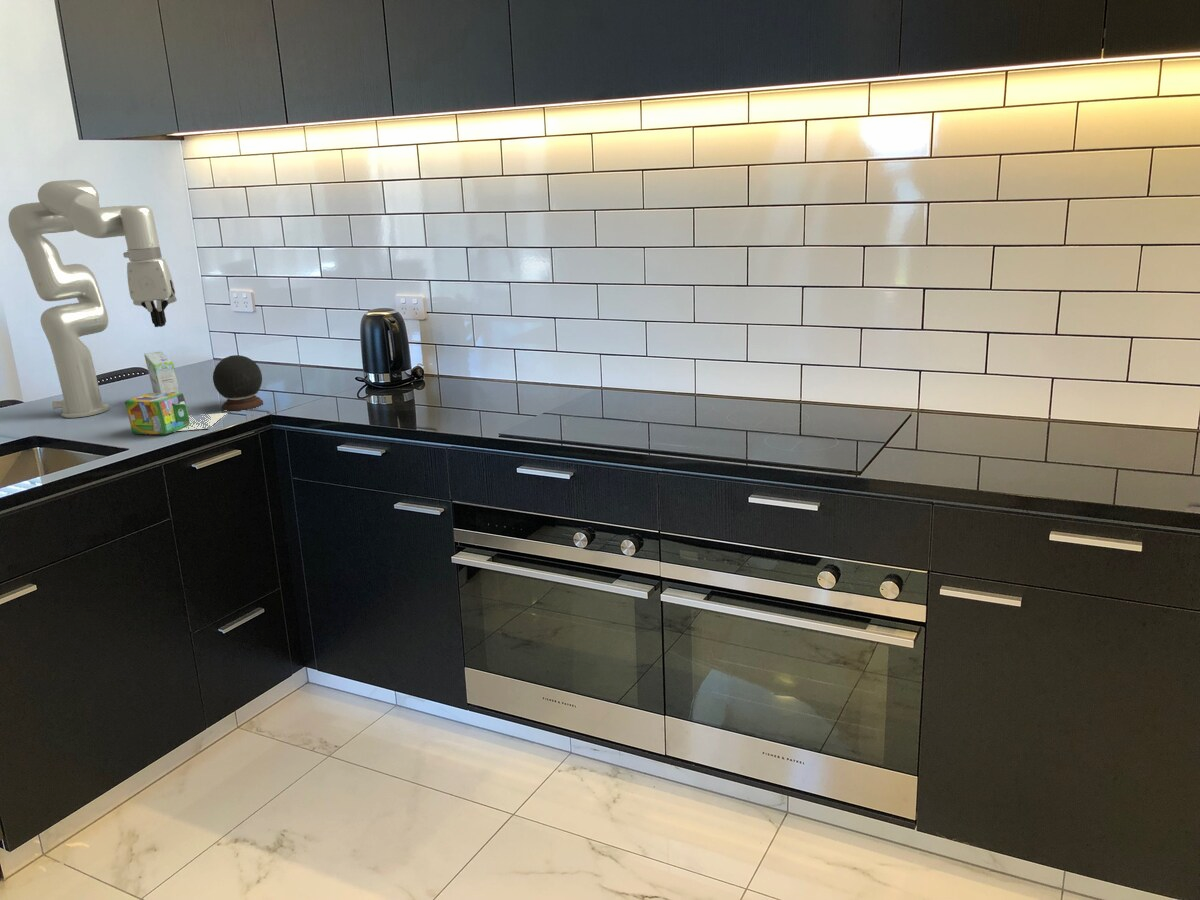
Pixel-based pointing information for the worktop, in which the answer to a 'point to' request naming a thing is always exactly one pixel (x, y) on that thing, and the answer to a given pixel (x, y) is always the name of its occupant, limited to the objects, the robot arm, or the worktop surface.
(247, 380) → the dark ball on base
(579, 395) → the worktop surface
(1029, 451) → the worktop surface
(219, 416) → the mat
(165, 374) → the snack box
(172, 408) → the chalk box
